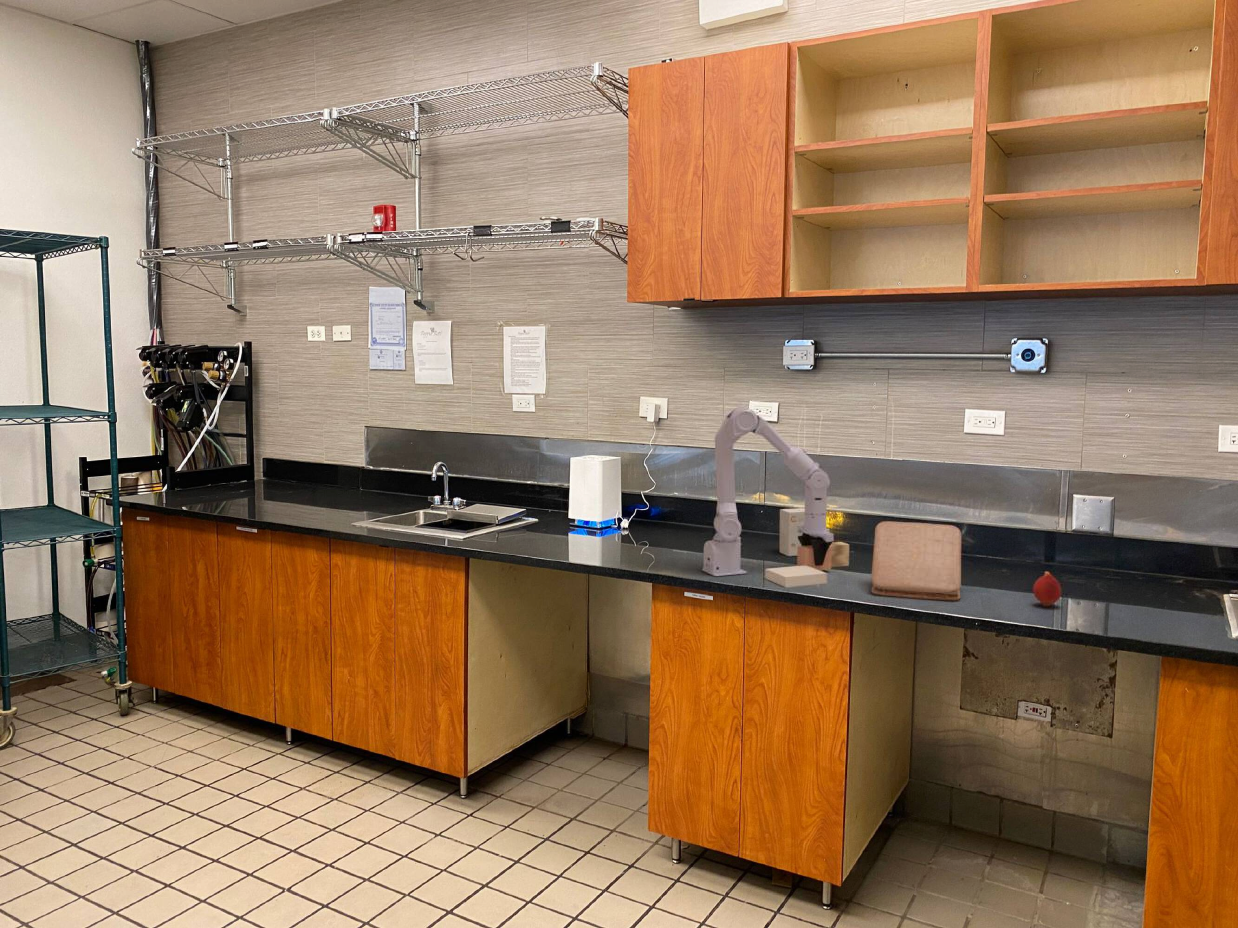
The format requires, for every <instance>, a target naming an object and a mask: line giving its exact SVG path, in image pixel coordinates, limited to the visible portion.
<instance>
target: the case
mask: <svg viewBox="0 0 1238 928" xmlns="http://www.w3.org/2000/svg"><path fill="white" fill-rule="evenodd" d="M872 554H873V555H872V566H871V576H870V577H871V578H870V579H871V584H872V587H871V593H872V594H874V595H876V596H880V597H881V596H882V597H893V598H894V597H895V598H897V597H898V598H909V599H921V600H922V599H924V600H935V601H949V602H950V601H951V602H953V601H954V602H955V601H959V600H960V599H961V591H960V589H961V586H962V533H961V530H960V528H958V527H957V526H955V525H951V524H942V523H941V524H940V523H939V524H938V523H937V524H936V523H927V522H923V523H922V522H907V521H906V522H903V521H889V520H888V521H887V520H885V521H881V522H879V523H878V524H876V526H875V528H874V541H873V553H872Z"/></svg>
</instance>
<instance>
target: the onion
mask: <svg viewBox="0 0 1238 928" xmlns="http://www.w3.org/2000/svg"><path fill="white" fill-rule="evenodd" d="M1043 573H1044V575H1042V576H1040V577H1039V578H1038V579H1036V580H1035V582H1034V584H1033V587H1032V593H1033V595H1034V597H1035V598H1036V600H1038V602H1040V603H1041V604H1042V606H1044V607H1049V606H1051V605H1054V604H1055V603H1056V602H1058V600H1059V599H1060V598H1061V596H1062V588H1061V585H1060V582H1059V581H1058V579H1056V578H1055V577H1054V576H1053V575H1052V574H1051V573H1050V572H1049V571H1044V572H1043Z"/></svg>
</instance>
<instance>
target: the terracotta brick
mask: <svg viewBox="0 0 1238 928" xmlns="http://www.w3.org/2000/svg"><path fill="white" fill-rule="evenodd" d="M831 553H832V547H829V549H828V551H827V553H826V556H825V559H824V563H823V565H821V566H815V563H814V552H813V547H812V545H810V546H798V548H797V558H796V566H803V565H806V566H809V567H812V568H814V569H817V570H820V571H827V570H828V571H829V570H832V567H831Z"/></svg>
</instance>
